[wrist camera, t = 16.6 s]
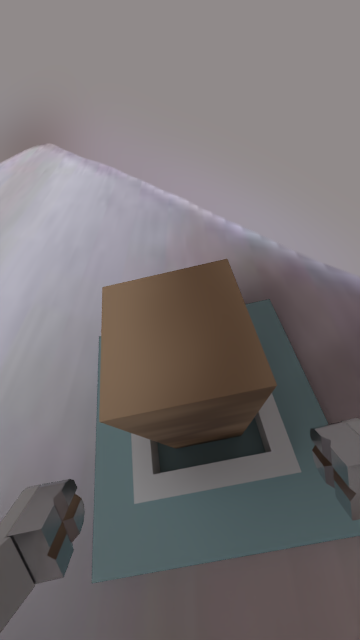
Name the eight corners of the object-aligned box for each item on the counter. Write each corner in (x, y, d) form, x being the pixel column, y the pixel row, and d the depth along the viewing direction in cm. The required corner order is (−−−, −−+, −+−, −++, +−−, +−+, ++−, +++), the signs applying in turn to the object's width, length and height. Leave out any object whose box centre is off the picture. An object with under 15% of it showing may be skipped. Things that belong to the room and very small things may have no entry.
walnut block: (176, 448, 16) (98, 421, 6) (167, 384, 18) (102, 287, 8) (241, 435, 16) (277, 385, 6) (223, 372, 18) (227, 258, 8)
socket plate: (99, 576, 14) (72, 600, 11) (103, 341, 23) (88, 325, 20) (369, 527, 13) (404, 542, 11) (267, 305, 22) (273, 284, 19)
